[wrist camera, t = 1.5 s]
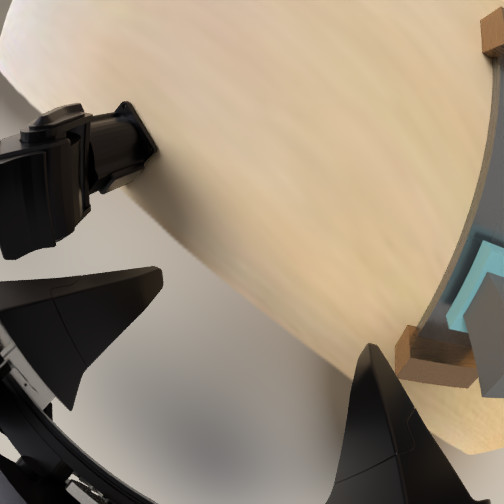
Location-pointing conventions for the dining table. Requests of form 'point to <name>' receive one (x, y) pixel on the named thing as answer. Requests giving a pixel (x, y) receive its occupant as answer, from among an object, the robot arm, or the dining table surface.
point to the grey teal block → (484, 317)
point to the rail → (463, 250)
